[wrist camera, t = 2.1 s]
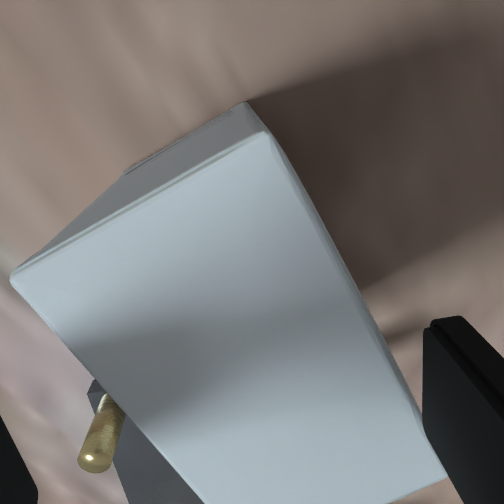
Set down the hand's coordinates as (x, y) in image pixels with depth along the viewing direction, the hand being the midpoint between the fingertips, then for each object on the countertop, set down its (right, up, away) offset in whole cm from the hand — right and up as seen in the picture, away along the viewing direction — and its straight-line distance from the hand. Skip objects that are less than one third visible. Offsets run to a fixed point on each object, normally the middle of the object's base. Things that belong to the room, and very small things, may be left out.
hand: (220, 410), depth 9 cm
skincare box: (0, +4, +10) cm, 11 cm away
